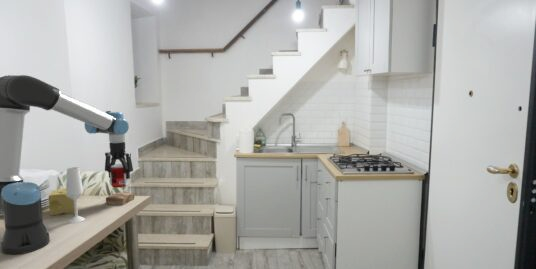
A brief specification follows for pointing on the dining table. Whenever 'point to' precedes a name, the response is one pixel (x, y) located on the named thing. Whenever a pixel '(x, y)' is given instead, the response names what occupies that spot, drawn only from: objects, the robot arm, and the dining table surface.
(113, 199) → the plinth
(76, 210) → the champagne flute
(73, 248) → the dining table surface
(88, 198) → the dining table surface
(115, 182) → the canned food
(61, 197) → the cheese
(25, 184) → the robot arm
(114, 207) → the dining table surface
